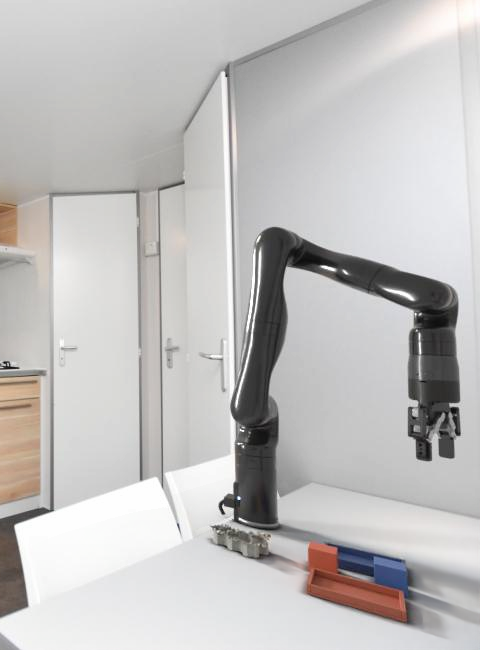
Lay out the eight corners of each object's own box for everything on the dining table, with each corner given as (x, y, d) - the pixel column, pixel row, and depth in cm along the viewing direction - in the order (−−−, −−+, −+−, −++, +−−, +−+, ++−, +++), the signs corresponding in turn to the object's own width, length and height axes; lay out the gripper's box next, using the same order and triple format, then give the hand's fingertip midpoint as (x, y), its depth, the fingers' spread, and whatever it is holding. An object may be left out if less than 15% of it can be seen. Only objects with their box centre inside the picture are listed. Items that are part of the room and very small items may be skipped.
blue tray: (321, 563, 98) (321, 554, 98) (324, 549, 105) (324, 541, 105) (408, 585, 89) (408, 575, 90) (405, 568, 96) (405, 560, 97)
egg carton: (274, 554, 101) (274, 535, 102) (250, 560, 98) (250, 539, 99) (228, 536, 111) (228, 518, 111) (206, 540, 108) (206, 521, 108)
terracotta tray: (306, 593, 85) (306, 583, 85) (311, 576, 92) (311, 566, 92) (406, 623, 76) (406, 612, 77) (403, 601, 83) (403, 590, 84)
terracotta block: (308, 571, 94) (307, 547, 94) (310, 563, 97) (310, 541, 98) (337, 578, 91) (336, 554, 91) (338, 571, 94) (337, 547, 95)
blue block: (374, 588, 87) (373, 563, 88) (374, 580, 91) (373, 555, 91) (408, 597, 85) (406, 571, 85) (406, 588, 88) (405, 563, 88)
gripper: (428, 376, 102) (430, 453, 101) (390, 376, 97) (392, 457, 95) (476, 379, 95) (479, 461, 94) (438, 379, 90) (441, 466, 89)
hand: (435, 459), depth 95 cm, fingers open, 8 cm apart
